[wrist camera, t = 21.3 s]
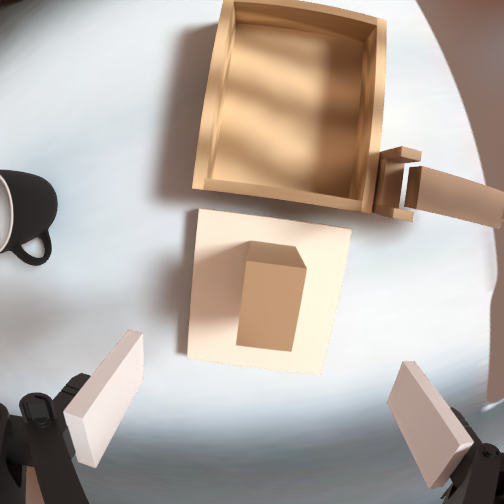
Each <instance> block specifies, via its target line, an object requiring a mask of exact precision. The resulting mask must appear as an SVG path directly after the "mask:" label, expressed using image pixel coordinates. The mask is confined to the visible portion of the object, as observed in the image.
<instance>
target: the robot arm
mask: <svg viewBox="0 0 504 504" xmlns="http://www.w3.org/2000/svg"><path fill="white" fill-rule="evenodd" d="M143 380H144V357H143V333H141V332H136V331H132V330H128V331H127V333H126V334H125V335H124V336H123V337H122V339H121V340H120V341H119V342H118V343H117V345H116V346H115V347H114V348H113V350H112V351H111V352H110V353H109V354H108V356H107V357H106V358H105V359H104V361H103V362H102V363H101V364H100V366H99V367H98V368H97V369H96V371H95V372H94V373H93V374H92V376H90V375H86V374H83V373H80V374H78V375H76V376H75V377H73V378H71V380H70V381H69V382H68V383H67V384H66V386H64V388H63V389H62V390H61V392H59V393H58V395H57V396H56V397H55V398H54V399H53V400H52V399H51V398H50V397H49V396H48V395H46V394H43V393H30V394H27V395H25V396H24V397H23V398H22V399H21V400H20V403H19V407H20V410H21V413H22V416H23V417H21V416H15V415H9V412H8V410H7V408H6V407H5V406H4V405H3V404H1V403H0V504H25V496H26V495H25V494H26V469H27V466H31V467H34V468H35V471H36V475H37V479H38V483H39V486H40V489H41V493H42V496H43V499H44V502H45V504H89V502H88V500H87V498H86V495H85V493H84V491H83V488H82V486H81V484H80V481H79V479H78V476H77V474H76V471H75V469H74V466H73V463H72V461H71V459H72V457H73V456H74V454H76V457H77V460H78V462H80V463H83V464H85V465H88V466H91V467H94V468H96V467H97V465H98V463H99V461H100V459H101V457H102V455H103V453H104V452H105V450H106V448H107V446H108V444H109V442H110V440H111V438H112V437H113V435H114V433H115V431H116V429H117V427H118V425H119V423H120V422H121V420H122V418H123V416H124V414H125V412H126V411H127V409H128V407H129V405H130V403H131V401H132V400H133V398H134V396H135V394H136V392H137V390H138V389H139V387H140V385H141V383H142V381H143ZM387 404H388V406H389V408H390V410H391V412H392V414H393V416H394V418H395V420H396V422H397V424H398V426H399V428H400V430H401V432H402V434H403V436H404V438H405V440H406V442H407V444H408V446H409V448H410V450H411V453H412V455H413V457H414V459H415V461H416V463H417V465H418V467H419V469H420V471H421V473H422V476H423V478H424V480H425V482H426V484H427V486H428V488H429V489H433V488H438V487H442V486H444V484H445V483H446V482H447V480H448V479H449V478H451V480H452V482H453V483H452V484H451V485H450V487H449V488H448V489H447V490H446V492H445V493H444V494H443V495H442V497H441V499H443V498H444V497H445V496H446V497H445V499H444V502H443V504H504V453H501V452H500V451H499V449H498V448H497V447H496V446H494V445H492V444H488V443H484V444H483V443H482V442H481V441H480V439H479V438H478V436H477V435H476V434H475V432H474V431H473V430H472V428H471V427H469V424H468V423H467V421H465V419H464V417H463V416H462V415H461V413H460V412H458V411H457V410H456V409H454V408H453V407H452V408H449V406H448V405H447V403H446V402H445V401H444V399H443V398H442V397H441V395H440V394H439V393H438V391H437V390H436V389H435V387H434V386H433V385H432V383H431V382H430V381H429V379H428V378H427V377H426V375H425V374H424V373H423V371H422V370H421V369H420V368H419V366H418V365H417V364H416V362H415V361H403V362H402V364H401V367H400V370H399V373H398V375H397V378H396V380H395V383H394V386H393V388H392V391H391V393H390V396H389V398H388V400H387Z"/></svg>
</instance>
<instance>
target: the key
mask: <svg viewBox="0 0 504 504" xmlns="http://www.w3.org/2000/svg"><path fill="white" fill-rule="evenodd" d="M404 207H409V208H414V209H418V210H423V211H427V212H432V213H436V214H441V215H445V216H449V217H453V218H458V219H462V220H466V221H470V222H474V223H478V224H481V225H485V226H489V227H493V228H498V229H500V227H501V222H504V192H503V191H500V190H497V189H494V188H491V187H488V186H485V185H482V184H479V183H476V182H473V181H470V180H467V179H464V178H461V177H458V176H454V175H451V174H448V173H444V172H441V171H437V170H434V169H430V168H427V167H423V166H419V167H409V175H408V183H407V190H406V197H405V204H404Z"/></svg>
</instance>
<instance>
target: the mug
mask: <svg viewBox="0 0 504 504" xmlns="http://www.w3.org/2000/svg"><path fill="white" fill-rule="evenodd" d="M57 206H58V203H57V196H56V193H55V191H54V189H53V187H52V186H51V184H50V183H49V182H48V181H46V180H45V179H43V178H42V177H39V176H37V175H33V174H30V173H25V172H20V171H12V170H0V253H3V252H6V251H12V252H13V253H14V254H15V255H16V256H17V257H18V258H19V259H21V260H22V261H23V262H25V263H27V264H29V265H33V266H38V265H42V264H44V263H45V262H46V261H47V260H48V259H49V257H50V255H51V251H52V246H51V240H50V236H49V232H48V229H49V227H50V225H51V224H52V223H53V221H54V219H55V216H56V213H57ZM36 237H39V238H41V240H42V241H43V244H44V248H45V253H44V256H43V257H42V258H35V257H33V256H31V255H29V254H28V253H26V252H25V251H24V250H23V248H22V247H21V245H22V244H24V243H26V242H28V241H30V240H32V239H34V238H36Z"/></svg>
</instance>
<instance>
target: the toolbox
mask: <svg viewBox="0 0 504 504" xmlns="http://www.w3.org/2000/svg"><path fill="white" fill-rule="evenodd" d="M385 75H386V20H383V19H379V18H376V17H373V16H369V15H365V14H361V13H357V12H353V11H349V10H345V9H341V8H336V7H331V6H327V5H321V4H316V3H310V2H304V1H298V0H223V5H222V9H221V14H220V18H219V23H218V28H217V33H216V38H215V43H214V48H213V53H212V59H211V64H210V70H209V75H208V81H207V87H206V93H205V99H204V105H203V111H202V118H201V125H200V131H199V138H198V145H197V153H196V160H195V168H194V176H193V184H192V189H201V190H210V191H219V192H227V193H235V194H243V195H251V196H258V197H266V198H273V199H280V200H287V201H294V202H301V203H307V204H314V205H320V206H326V207H332V208H338V209H344V210H350V211H356V212H362V213H367V214H371V212H372V213H376V214H380V215H383V216H387V217H391V218H395V219H400V220H405V221H410V222H412V221H413V214H414V212H412V211H407V210H402V209H398V208H399V202H400V195H401V188H402V180H403V172H404V164H405V163H410V162H419V161H421V151H418V150H414V149H410V148H407V147H403V146H401V147H397V148H393V149H389V150H385V151H382V152H380V143H381V133H382V122H383V109H384V94H385Z"/></svg>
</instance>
